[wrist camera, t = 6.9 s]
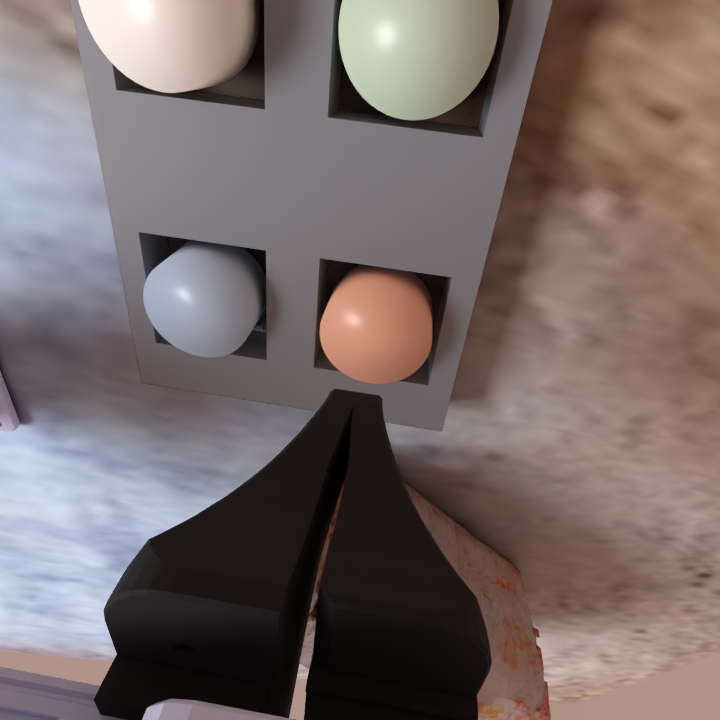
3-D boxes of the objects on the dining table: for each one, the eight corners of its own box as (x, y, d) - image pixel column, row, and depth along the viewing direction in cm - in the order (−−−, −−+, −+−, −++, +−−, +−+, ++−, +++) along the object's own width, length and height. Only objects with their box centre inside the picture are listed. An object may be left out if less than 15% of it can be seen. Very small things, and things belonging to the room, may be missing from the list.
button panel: (163, 358, 22) (141, 382, 21) (77, -216, 13) (23, -257, 11) (441, 402, 22) (441, 431, 20) (580, -169, 12) (605, -204, 10)
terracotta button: (327, 345, 20) (316, 375, 18) (334, 254, 18) (322, 277, 16) (422, 360, 20) (421, 391, 18) (441, 269, 18) (442, 295, 16)
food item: (548, 568, 27) (597, 793, 19) (443, 615, 31) (446, 819, 23) (371, 429, 23) (337, 636, 15) (275, 502, 27) (207, 699, 19)
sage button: (345, 103, 15) (333, 110, 13) (357, -64, 13) (345, -82, 11) (472, 119, 15) (477, 129, 13) (506, -48, 13) (518, -64, 11)
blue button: (176, 322, 20) (151, 348, 19) (165, 229, 18) (135, 250, 16) (268, 336, 20) (252, 364, 18) (268, 244, 18) (249, 266, 16)
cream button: (134, 78, 15) (92, 83, 13) (110, -96, 13) (56, -120, 11) (260, 94, 15) (236, 101, 13) (258, -80, 13) (229, -101, 11)
